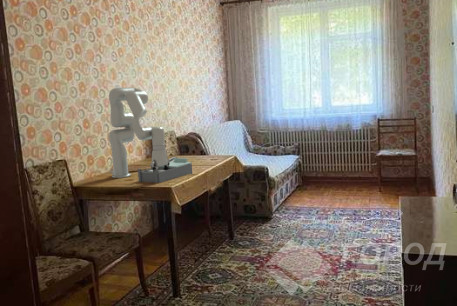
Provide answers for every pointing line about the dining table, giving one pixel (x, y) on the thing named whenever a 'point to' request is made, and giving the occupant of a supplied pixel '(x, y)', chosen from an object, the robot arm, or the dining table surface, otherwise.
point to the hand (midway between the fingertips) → (161, 175)
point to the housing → (163, 174)
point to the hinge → (172, 159)
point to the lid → (178, 162)
